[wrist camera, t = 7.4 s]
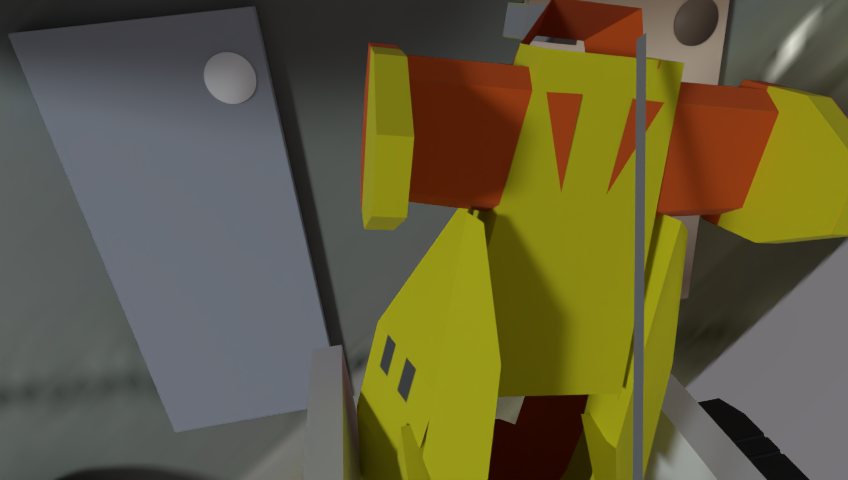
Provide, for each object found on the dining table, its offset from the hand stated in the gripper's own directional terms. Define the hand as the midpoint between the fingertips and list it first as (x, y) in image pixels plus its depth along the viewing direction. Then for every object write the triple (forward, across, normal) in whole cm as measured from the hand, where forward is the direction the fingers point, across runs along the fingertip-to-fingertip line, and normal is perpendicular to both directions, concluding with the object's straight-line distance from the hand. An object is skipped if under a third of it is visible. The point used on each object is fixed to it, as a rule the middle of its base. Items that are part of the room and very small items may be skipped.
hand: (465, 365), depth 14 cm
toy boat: (+1, 0, 0) cm, 1 cm away
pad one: (+12, -10, -1) cm, 15 cm away
